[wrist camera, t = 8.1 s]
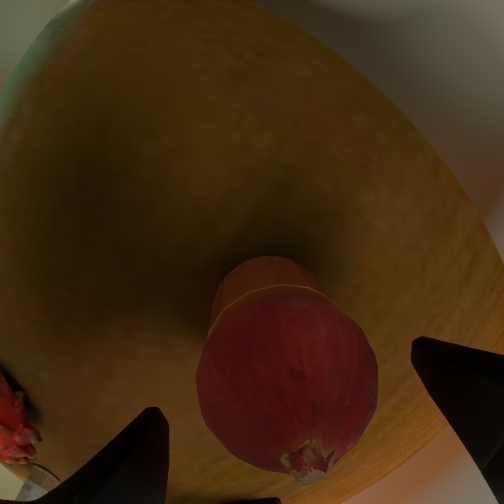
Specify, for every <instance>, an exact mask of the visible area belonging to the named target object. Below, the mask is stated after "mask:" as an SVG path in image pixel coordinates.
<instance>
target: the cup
mask: <svg viewBox="0 0 504 504" xmlns="http://www.w3.org/2000/svg"><path fill="white" fill-rule="evenodd" d="M283 294H295V295H299V296H302V297H306V298H310V299H314V300H319V301H323V302H328V303H330V304H332V305H333V306H334V307H335V308H337V309H338V310H339V311H341V310H340V308H339V307H338V305H337V304H336V302H335V301H334V300H333V299H332V297H331V296H330V295H329V294H328V293H327V292H326V290H325V289H324V288H323V287H322V286H321V285H320V283H319V282H318V281H317V280H316V279H315V278H314V276H313V275H312V274H311V273H310V272H309V271H307V270H306V269H305V268H304V267H303V266H301V265H300V264H298V263H296V262H294V261H292V260H290V259H287V258H284V257H279V256H261V257H256V258H252V259H249V260H247V261H245V262H243V263H241V264H239V265H237V266H236V267H234V268H233V269H232V270H231V271H230V272H229V273H228V274H227V275H226V276H225V277H224V278H223V280H222V281H221V283H220V285H219V287H218V289H217V291H216V294H215V297H214V301H213V306H212V312H211V317H210V323H209V329H208V335H207V340H208V338H209V336H210V335H211V334H212V333H213V332H214V330H215V329H216V328H217V327H218V326H219V324H220V323H221V322H222V321H223V320H224V318H225V317H226V316H227V315H228V314H229V312H231V311H233V310H235V309H237V308H239V307H241V306H243V305H245V304H247V303H249V302H251V301H253V300H255V299H257V298H259V297H268V296H276V295H283ZM341 312H342V311H341Z"/></svg>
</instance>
